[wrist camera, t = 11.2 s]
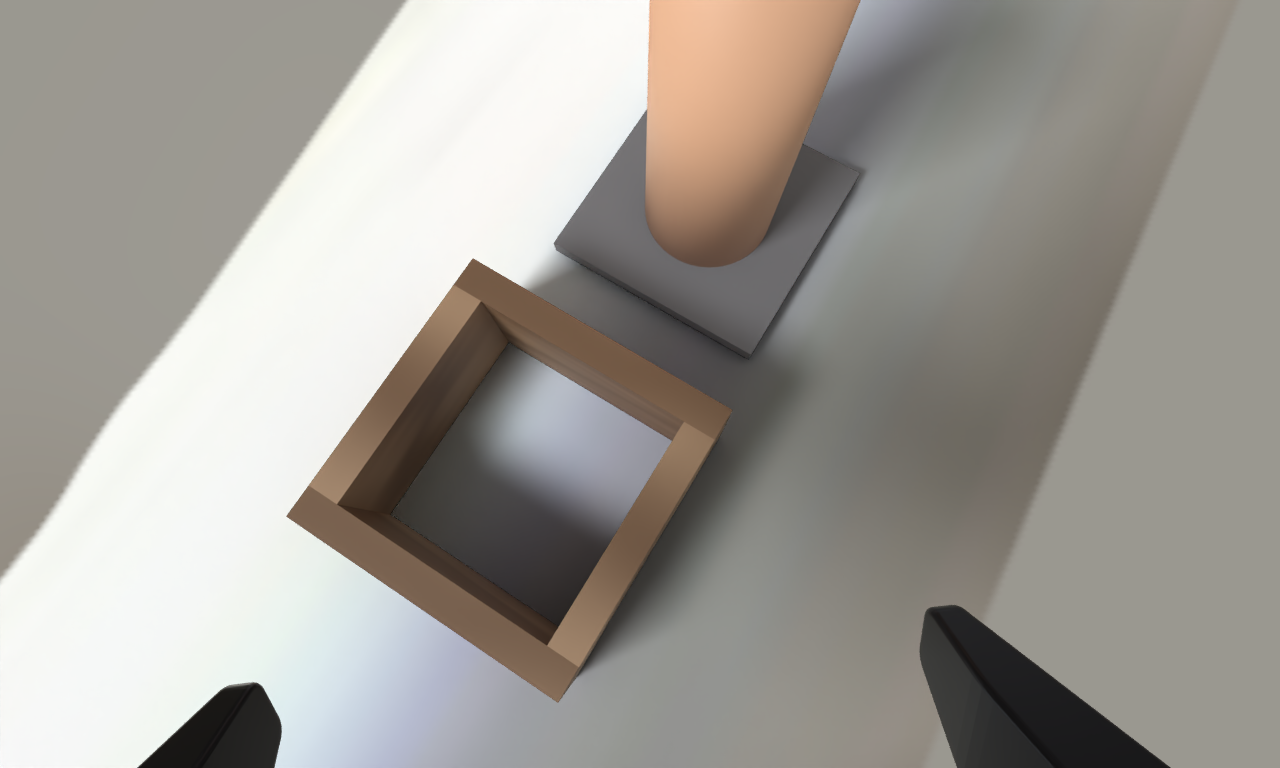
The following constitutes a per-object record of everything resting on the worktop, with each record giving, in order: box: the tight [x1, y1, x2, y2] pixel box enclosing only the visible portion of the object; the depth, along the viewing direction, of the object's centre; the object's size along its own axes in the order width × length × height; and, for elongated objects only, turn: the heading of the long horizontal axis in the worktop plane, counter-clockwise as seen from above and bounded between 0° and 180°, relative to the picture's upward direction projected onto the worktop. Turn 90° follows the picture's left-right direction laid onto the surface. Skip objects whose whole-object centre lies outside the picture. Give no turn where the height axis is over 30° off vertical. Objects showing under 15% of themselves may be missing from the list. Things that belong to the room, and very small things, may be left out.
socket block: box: [286, 259, 732, 702], centre depth 22 cm, size 9×9×4 cm
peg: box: [645, 0, 860, 267], centre depth 19 cm, size 4×4×13 cm
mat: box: [554, 110, 860, 360], centre depth 25 cm, size 8×8×1 cm
